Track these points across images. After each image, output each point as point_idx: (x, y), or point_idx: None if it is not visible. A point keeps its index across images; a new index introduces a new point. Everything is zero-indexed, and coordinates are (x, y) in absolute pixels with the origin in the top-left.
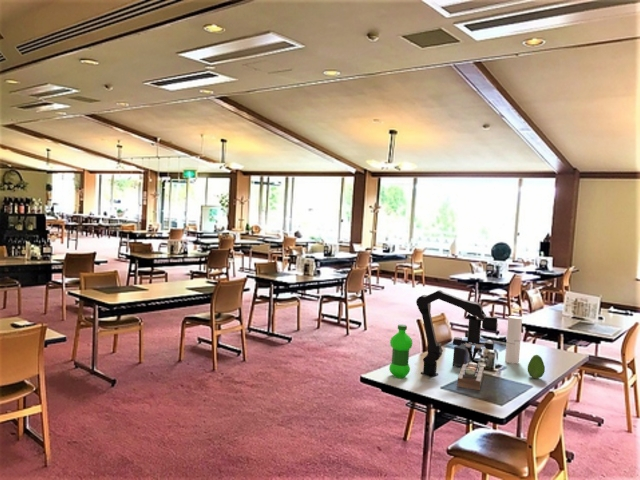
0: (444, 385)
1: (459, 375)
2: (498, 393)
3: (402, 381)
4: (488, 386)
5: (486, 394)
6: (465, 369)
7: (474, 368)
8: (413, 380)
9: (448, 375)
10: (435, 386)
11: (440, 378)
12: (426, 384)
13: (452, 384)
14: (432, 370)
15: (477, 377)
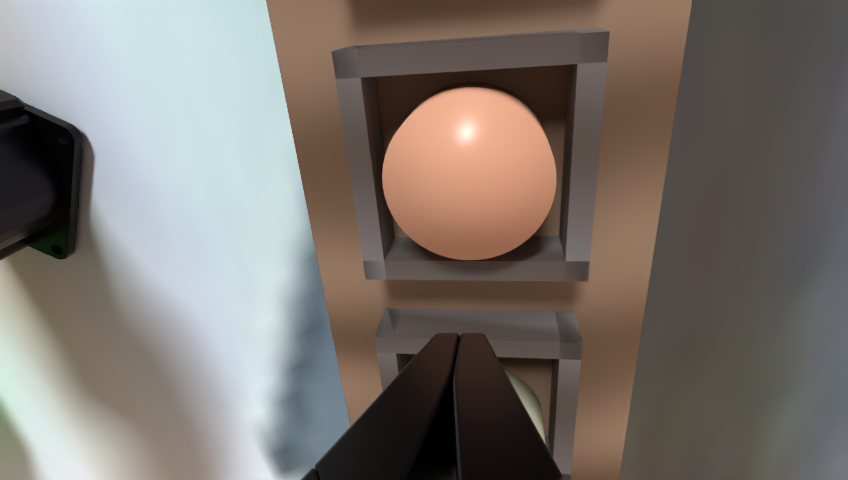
0: (278, 411)
1: (350, 385)
2: (802, 416)
3: (9, 448)
4: (716, 249)
5: (661, 476)
6: (373, 250)
7: (527, 199)
8: (40, 401)
9: (175, 71)
10: (232, 455)
11: (163, 243)
12: (160, 442)
13: (327, 361)
14: (5, 243)
15: (583, 362)
